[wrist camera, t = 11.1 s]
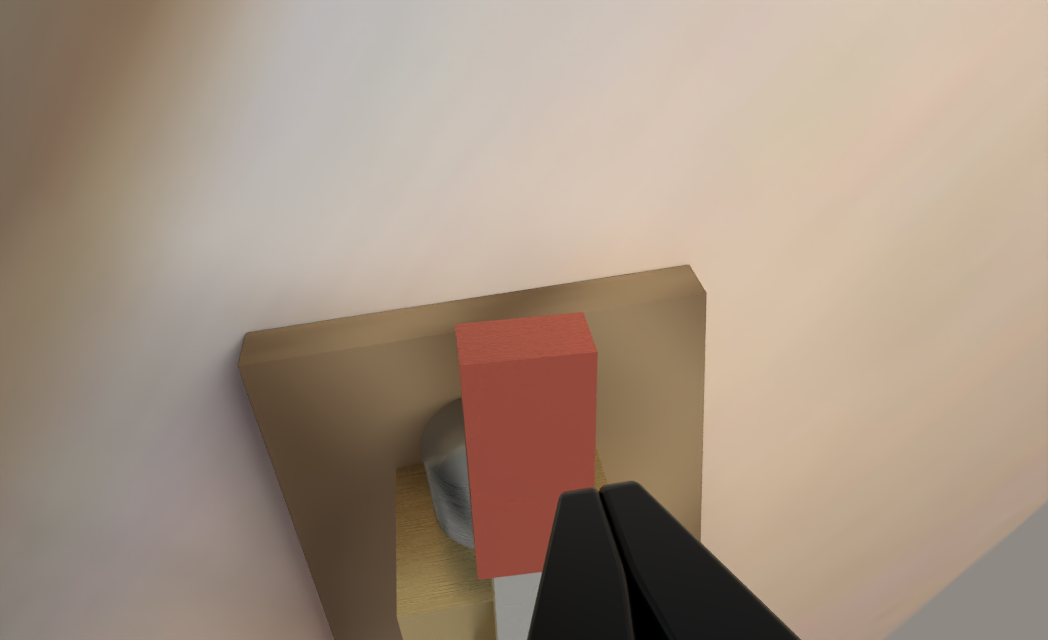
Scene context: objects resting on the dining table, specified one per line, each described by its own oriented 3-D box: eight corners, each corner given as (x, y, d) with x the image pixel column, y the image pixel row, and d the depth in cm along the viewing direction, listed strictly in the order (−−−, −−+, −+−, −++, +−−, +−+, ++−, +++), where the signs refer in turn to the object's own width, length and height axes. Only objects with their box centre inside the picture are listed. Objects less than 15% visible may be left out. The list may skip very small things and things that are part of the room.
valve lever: (586, 725, 21) (596, 772, 20) (483, 741, 21) (487, 789, 20) (595, 311, 14) (609, 350, 13) (443, 325, 14) (447, 366, 13)
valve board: (355, 656, 30) (354, 695, 29) (246, 332, 22) (237, 365, 21) (685, 598, 31) (698, 633, 29) (689, 264, 23) (706, 292, 22)
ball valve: (438, 642, 28) (448, 820, 23) (380, 407, 22) (378, 577, 18) (605, 612, 28) (648, 782, 23) (588, 374, 23) (640, 532, 18)
